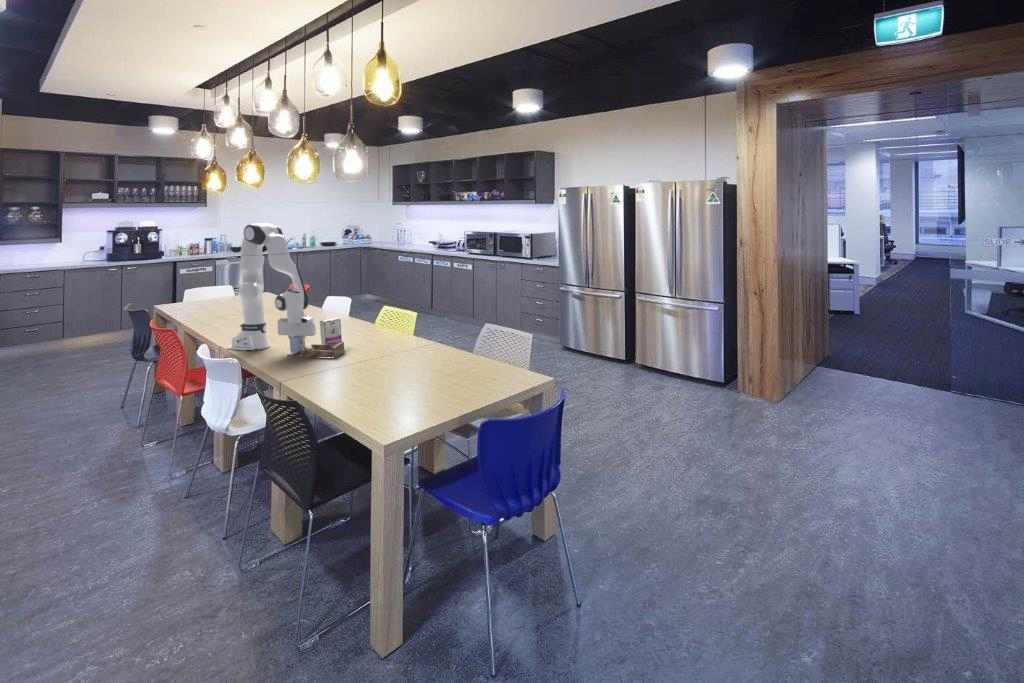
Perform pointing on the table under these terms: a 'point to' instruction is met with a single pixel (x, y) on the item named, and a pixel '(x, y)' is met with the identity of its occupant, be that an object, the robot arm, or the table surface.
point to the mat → (294, 354)
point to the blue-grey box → (296, 344)
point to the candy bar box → (330, 331)
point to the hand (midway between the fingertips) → (297, 343)
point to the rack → (323, 350)
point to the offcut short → (308, 348)
